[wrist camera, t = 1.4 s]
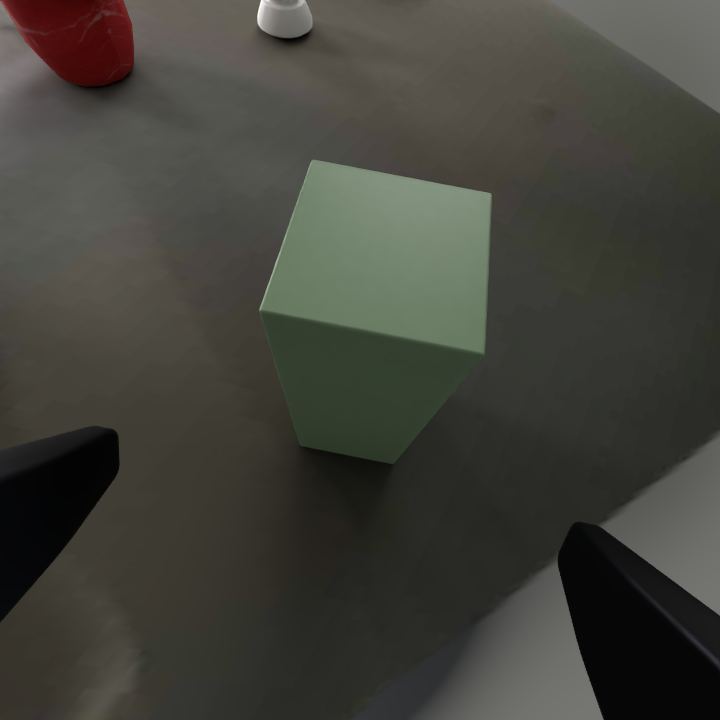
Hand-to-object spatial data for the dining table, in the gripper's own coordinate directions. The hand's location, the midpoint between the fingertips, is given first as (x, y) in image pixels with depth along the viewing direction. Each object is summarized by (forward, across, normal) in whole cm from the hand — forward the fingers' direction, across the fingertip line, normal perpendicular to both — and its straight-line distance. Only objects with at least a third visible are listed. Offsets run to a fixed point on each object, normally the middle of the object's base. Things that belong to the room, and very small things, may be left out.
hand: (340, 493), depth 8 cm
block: (+13, 0, +5) cm, 14 cm away
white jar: (+38, +13, -20) cm, 45 cm away
